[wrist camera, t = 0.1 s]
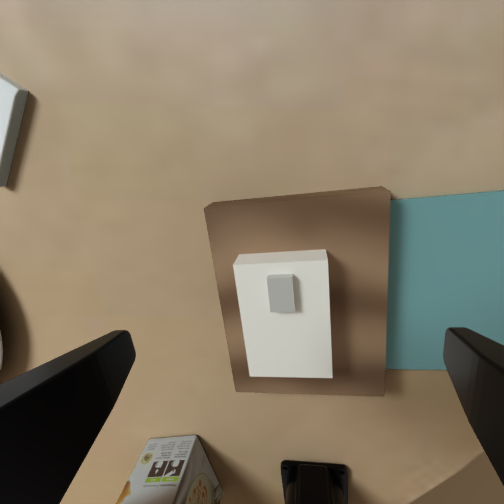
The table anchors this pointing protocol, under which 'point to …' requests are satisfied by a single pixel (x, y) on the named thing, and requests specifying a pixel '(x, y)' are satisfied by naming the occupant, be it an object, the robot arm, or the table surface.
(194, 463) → the coffee box
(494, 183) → the table surface
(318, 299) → the white panel with tab
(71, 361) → the robot arm
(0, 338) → the ceramic plate
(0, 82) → the external hard drive
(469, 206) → the mat
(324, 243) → the brown flat block
